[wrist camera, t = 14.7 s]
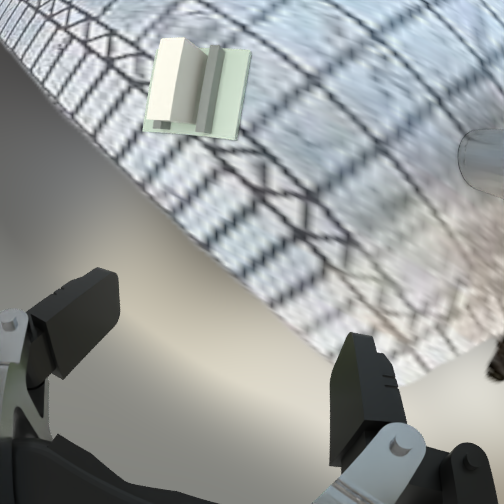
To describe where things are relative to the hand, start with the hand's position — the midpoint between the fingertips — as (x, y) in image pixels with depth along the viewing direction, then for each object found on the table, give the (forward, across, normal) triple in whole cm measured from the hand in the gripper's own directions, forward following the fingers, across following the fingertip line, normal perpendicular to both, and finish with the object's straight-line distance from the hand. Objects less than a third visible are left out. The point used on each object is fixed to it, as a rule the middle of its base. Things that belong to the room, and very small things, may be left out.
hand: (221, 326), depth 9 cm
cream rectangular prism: (+31, +15, -12) cm, 37 cm away
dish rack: (+33, +15, -12) cm, 38 cm away
